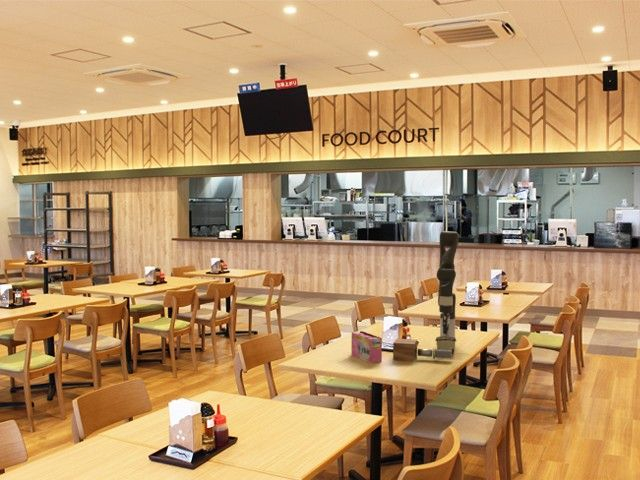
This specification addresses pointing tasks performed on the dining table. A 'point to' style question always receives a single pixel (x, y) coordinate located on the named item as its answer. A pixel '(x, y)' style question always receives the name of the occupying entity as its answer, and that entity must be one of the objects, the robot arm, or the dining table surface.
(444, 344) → the food container
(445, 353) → the grey capped rod
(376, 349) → the gum box
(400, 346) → the housing
